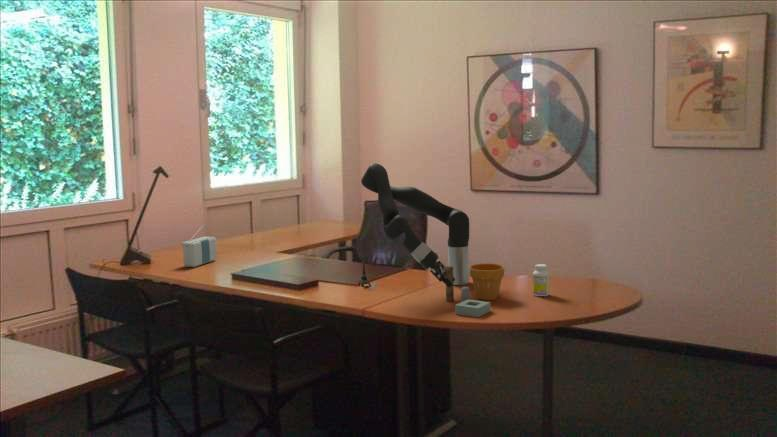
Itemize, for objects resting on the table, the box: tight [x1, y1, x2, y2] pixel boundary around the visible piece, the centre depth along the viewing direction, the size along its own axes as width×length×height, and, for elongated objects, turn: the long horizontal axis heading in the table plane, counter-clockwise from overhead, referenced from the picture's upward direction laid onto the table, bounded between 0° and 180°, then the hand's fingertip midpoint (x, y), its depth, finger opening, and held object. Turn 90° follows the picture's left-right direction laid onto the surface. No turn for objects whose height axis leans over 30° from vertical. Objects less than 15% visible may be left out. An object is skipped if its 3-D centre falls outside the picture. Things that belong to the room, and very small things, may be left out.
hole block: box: [454, 299, 491, 318], centre depth 288 cm, size 10×10×4 cm
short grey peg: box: [461, 286, 471, 302], centre depth 300 cm, size 3×3×7 cm
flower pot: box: [469, 263, 505, 301], centre depth 310 cm, size 14×14×13 cm
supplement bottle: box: [532, 263, 550, 297], centre depth 312 cm, size 7×7×13 cm
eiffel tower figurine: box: [357, 258, 379, 291], centre depth 336 cm, size 15×10×13 cm
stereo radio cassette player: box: [181, 224, 218, 268], centre depth 396 cm, size 21×8×20 cm, turn 158°
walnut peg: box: [445, 265, 455, 302], centre depth 307 cm, size 3×3×14 cm
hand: (452, 283), depth 306 cm, fingers open, 8 cm apart
